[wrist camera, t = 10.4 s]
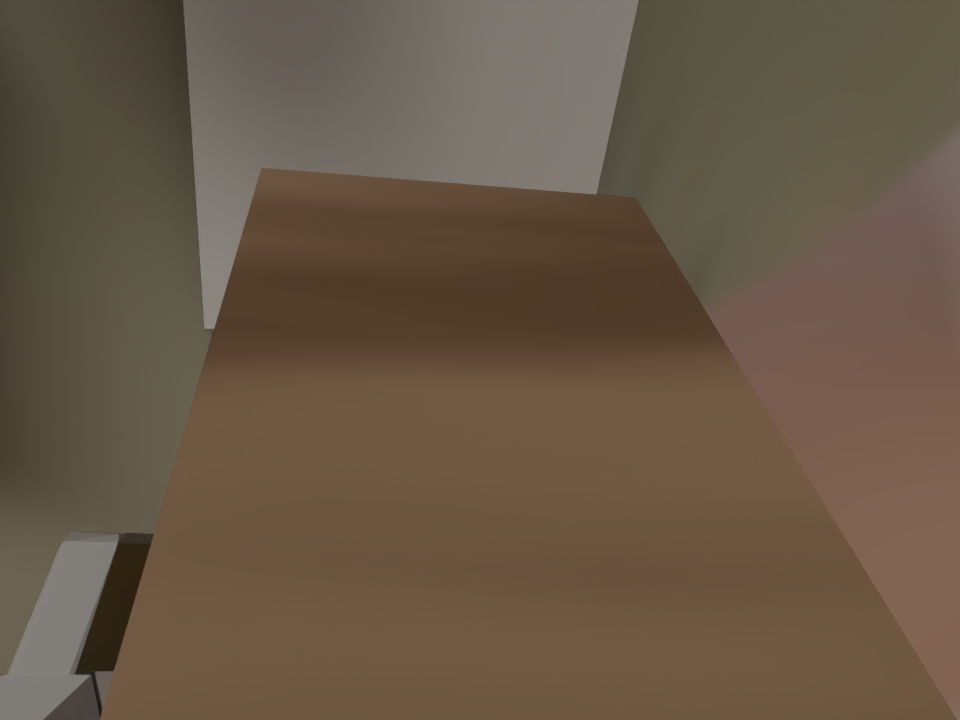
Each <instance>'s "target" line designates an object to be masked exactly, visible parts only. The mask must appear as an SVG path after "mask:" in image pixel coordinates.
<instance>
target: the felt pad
mask: <svg viewBox="0 0 960 720" xmlns="http://www.w3.org/2000/svg"><path fill="white" fill-rule="evenodd" d="M638 2H639V0H183V6H184V22H185V37H186V52H187V68H188V83H189V98H190V114H191V129H192V144H193V160H194V175H195V190H196V206H197V221H198V236H199V252H200V267H201V282H202V298H203V313H204V328H205V329H214V328H215V324H216V321H217V317H218V314H219V311H220V307H221V304H222V300H223V297H224V294H225V290H226V287H227V283H228V280H229V277H230V273H231V270H232V266H233V263H234V259H235V256H236V253H237V249H238V246H239V242H240V239H241V236H242V232H243V229H244V225H245V222H246V219H247V215H248V212H249V208H250V205H251V201H252V198H253V195H254V191H255V188H256V184H257V181H258V178H259V174H260V171H261V168H271V169H283V170H296V171H308V172H321V173H333V174H346V175H358V176H371V177H384V178H396V179H409V180H421V181H434V182H446V183H459V184H471V185H484V186H496V187H509V188H521V189H534V190H547V191H559V192H572V193H584V194H597V190H598V185H599V180H600V176H601V171H602V167H603V162H604V157H605V153H606V148H607V144H608V139H609V134H610V130H611V125H612V121H613V116H614V112H615V107H616V102H617V98H618V93H619V89H620V84H621V79H622V75H623V70H624V66H625V61H626V57H627V52H628V47H629V43H630V38H631V34H632V29H633V24H634V20H635V15H636V11H637V6H638Z"/></svg>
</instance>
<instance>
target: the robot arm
mask: <svg viewBox="0 0 960 720" xmlns="http://www.w3.org/2000/svg"><path fill="white" fill-rule="evenodd" d="M153 536H154V534H143V533H125V534H120V533H94V532H71V533H70V534H69V536H68V537H67V538H66V539H65V540H64V541H63V543H62V544H61V545H60V548H59V550H58V552H57V555H56V557H55V560H54V562H53V564H52V567H51V569H50V572H49V574H48V577H47V579H46V581H45V584H44V586H43V589H42V591H41V593H40V596H39V598H38V601H37V603H36V606H35V608H34V610H33V613H32V615H31V618H30V620H29V622H28V625H27V627H26V630H25V632H24V635H23V637H22V639H21V642H20V644H19V647H18V649H17V652H16V654H15V656H14V659H13V661H12V664H11V666H10V668H9V671H8V673H7V675H0V720H100V717H101V713H102V710H103V706H104V703H105V699H106V696H107V693H108V689H109V686H110V682H111V679H112V676H113V672H114V669H115V665H116V662H117V659H118V655H119V652H120V648H121V645H122V641H123V638H124V635H125V631H126V628H127V624H128V621H129V618H130V614H131V611H132V607H133V604H134V601H135V597H136V594H137V590H138V587H139V584H140V580H141V577H142V573H143V570H144V566H145V563H146V560H147V556H148V553H149V549H150V546H151V543H152V539H153Z"/></svg>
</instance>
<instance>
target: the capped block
mask: <svg viewBox="0 0 960 720" xmlns="http://www.w3.org/2000/svg"><path fill="white" fill-rule="evenodd" d="M100 720H957V719H956V717H955V716H954V715H953V713H952V711H951V709H950V708H949V706H948V705H947V703H946V701H945V700H944V698H943V697H942V695H941V693H940V691H939V690H938V688H937V687H936V685H935V683H934V682H933V680H932V679H931V677H930V675H929V674H928V672H927V670H926V669H925V667H924V666H923V664H922V662H921V661H920V659H919V657H918V656H917V654H916V652H915V651H914V649H913V648H912V646H911V644H910V643H909V641H908V640H907V638H906V636H905V635H904V633H903V631H902V630H901V628H900V627H899V625H898V623H897V622H896V620H895V618H894V617H893V615H892V614H891V612H890V610H889V609H888V607H887V605H886V604H885V602H884V600H883V599H882V597H881V596H880V594H879V593H878V591H877V589H876V588H875V586H874V584H873V583H872V581H871V579H870V578H869V576H868V574H867V573H866V571H865V570H864V568H863V567H862V565H861V563H860V562H859V560H858V558H857V557H856V555H855V553H854V552H853V550H852V549H851V547H850V546H849V544H848V542H847V540H846V539H845V537H844V536H843V534H842V532H841V531H840V529H839V527H838V526H837V524H836V522H835V521H834V519H833V518H832V516H831V514H830V513H829V511H828V509H827V508H826V506H825V505H824V503H823V501H822V500H821V498H820V497H819V495H818V493H817V492H816V490H815V488H814V487H813V485H812V483H811V482H810V480H809V479H808V477H807V475H806V474H805V472H804V470H803V469H802V467H801V466H800V464H799V463H798V461H797V459H796V458H795V456H794V454H793V453H792V451H791V450H790V448H789V446H788V444H787V443H786V441H785V440H784V438H783V436H782V435H781V433H780V432H779V430H778V428H777V427H776V425H775V423H774V422H773V420H772V418H771V417H770V415H769V414H768V412H767V410H766V409H765V407H764V406H763V404H762V402H761V401H760V399H759V397H758V396H757V394H756V392H755V391H754V389H753V388H752V386H751V384H750V383H749V381H748V379H747V378H746V376H745V375H744V373H743V372H742V370H741V368H740V367H739V365H738V363H737V362H736V360H735V358H734V357H733V355H732V354H731V352H730V350H729V349H728V347H727V345H726V344H725V342H724V340H723V339H722V337H721V336H720V334H719V332H718V331H717V329H716V328H715V326H714V324H713V323H712V321H711V319H710V318H709V316H708V314H707V313H706V311H705V310H704V308H703V306H702V305H701V303H700V301H699V300H698V298H697V297H696V295H695V293H694V292H693V290H692V288H691V287H690V285H689V284H688V282H687V280H686V279H685V277H684V275H683V274H682V272H681V271H680V269H679V267H678V266H677V264H676V262H675V261H674V259H673V258H672V256H671V254H670V253H669V251H668V249H667V248H666V246H665V245H664V243H663V241H662V240H661V238H660V236H659V235H658V233H657V232H656V230H655V228H654V227H653V225H652V223H651V222H650V220H649V219H648V217H647V215H646V214H645V212H644V210H643V209H642V207H641V206H640V204H639V202H638V201H637V199H636V198H634V197H622V196H609V195H597V194H584V193H572V192H559V191H547V190H534V189H521V188H509V187H496V186H484V185H471V184H459V183H446V182H434V181H421V180H409V179H396V178H384V177H371V176H358V175H346V174H333V173H321V172H308V171H296V170H283V169H271V168H261V171H260V174H259V178H258V181H257V184H256V188H255V191H254V195H253V198H252V201H251V205H250V208H249V212H248V215H247V219H246V222H245V225H244V229H243V232H242V236H241V239H240V242H239V246H238V249H237V253H236V256H235V259H234V263H233V266H232V270H231V273H230V277H229V280H228V283H227V287H226V290H225V294H224V297H223V300H222V304H221V307H220V311H219V314H218V317H217V321H216V324H215V328H214V331H213V334H212V338H211V341H210V345H209V348H208V352H207V355H206V358H205V362H204V365H203V369H202V372H201V375H200V379H199V382H198V386H197V389H196V392H195V396H194V399H193V403H192V406H191V410H190V413H189V416H188V420H187V423H186V427H185V430H184V433H183V437H182V440H181V444H180V447H179V450H178V454H177V457H176V461H175V464H174V468H173V471H172V474H171V478H170V481H169V485H168V488H167V491H166V495H165V498H164V502H163V505H162V508H161V512H160V515H159V519H158V522H157V526H156V529H155V532H154V536H153V539H152V543H151V546H150V549H149V553H148V556H147V560H146V563H145V566H144V570H143V573H142V577H141V580H140V584H139V587H138V590H137V594H136V597H135V601H134V604H133V607H132V611H131V614H130V618H129V621H128V624H127V628H126V631H125V635H124V638H123V641H122V645H121V648H120V652H119V655H118V659H117V662H116V665H115V669H114V672H113V676H112V679H111V682H110V686H109V689H108V693H107V696H106V699H105V703H104V706H103V710H102V713H101V717H100Z"/></svg>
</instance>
